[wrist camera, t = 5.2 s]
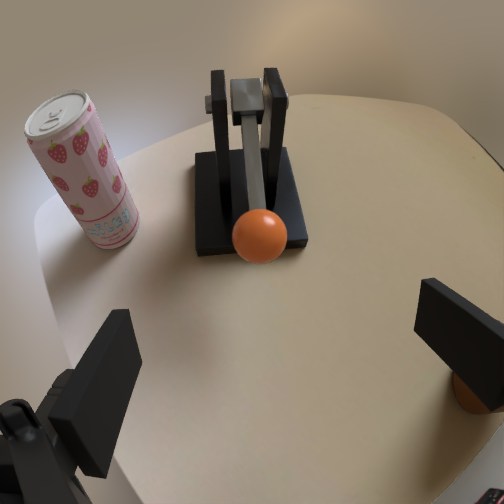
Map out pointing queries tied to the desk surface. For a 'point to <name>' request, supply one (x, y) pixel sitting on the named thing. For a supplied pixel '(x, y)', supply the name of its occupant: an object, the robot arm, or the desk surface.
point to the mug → (470, 398)
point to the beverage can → (83, 167)
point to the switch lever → (254, 180)
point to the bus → (480, 477)
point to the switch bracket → (233, 173)
